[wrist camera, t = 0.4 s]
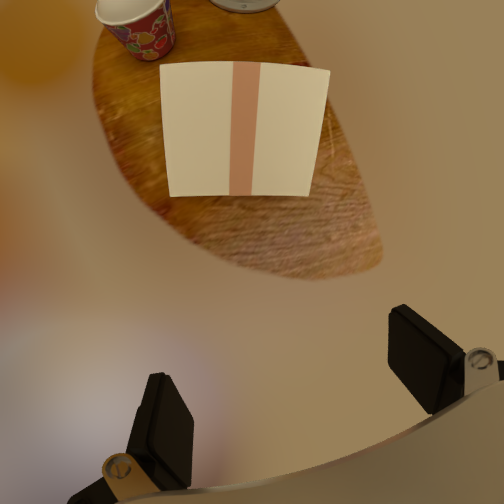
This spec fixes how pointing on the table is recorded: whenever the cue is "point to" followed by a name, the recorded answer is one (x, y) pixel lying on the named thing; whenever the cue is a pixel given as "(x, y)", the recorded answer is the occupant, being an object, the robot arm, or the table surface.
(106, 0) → the smoothie
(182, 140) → the lid
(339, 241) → the table surface
